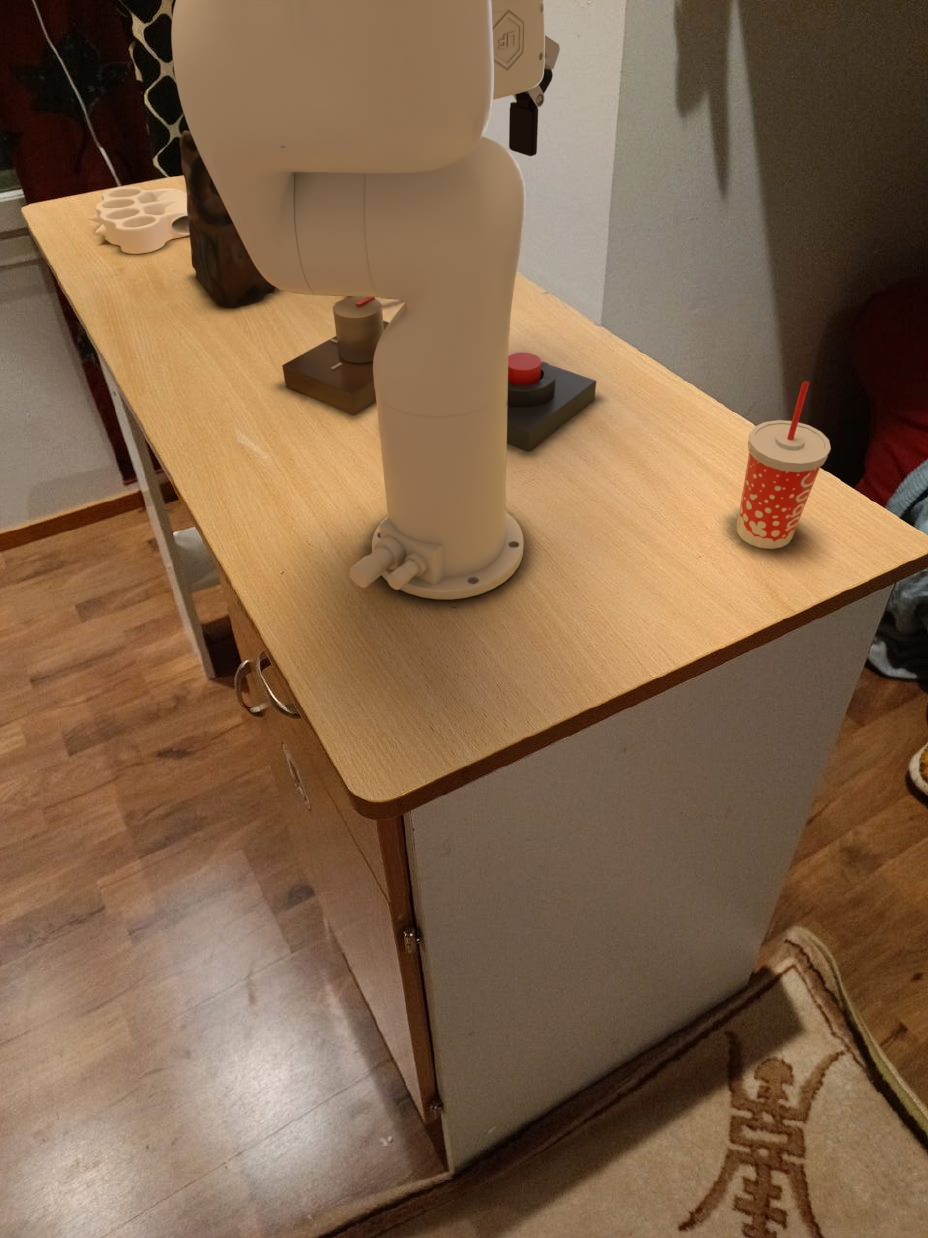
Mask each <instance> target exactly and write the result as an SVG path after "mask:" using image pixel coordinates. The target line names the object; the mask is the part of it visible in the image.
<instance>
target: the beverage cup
mask: <svg viewBox="0 0 928 1238" xmlns="http://www.w3.org/2000/svg"><path fill="white" fill-rule="evenodd" d="M809 385H810V382H809V381H807V380H803V381H802V383H801V387H800V390H799V393H798V397H797V402H796V405H795V408H794V412H793V416H792V419H791V420H783V419H775V420H770V421H764V422H762V423H760V424H758V425H755V426H754V427H753V428H752V430H751V431H750V432H749V434H748V440H747V450H748V452H749V453H748V457H747V464H746V469H745V476H744V481H743V486H742V492H741V499H740V504H739V510H738V517H737V523H736V533H737V534H738V536H739V537H740V539H741V540H743V541H744V542H746V543H747V544H749V545H750V546H754V547H756V548H759V549H769V550H773V549H781V548H783V547H785V546H787V545H789V544H790V542H791V540H792V539H793V537H794V534H795V532H796V530H797V526H798V524H799V522H800V519H801V516H802V514H803V511H804V509H805V507H806V504H807V502H808V499H809V496H810V495H811V491H812V489H813V487H814V483H815V481H816V480H817V479H816V478H817V476H818V473H819V472H820V470H821V467H822V466H823V465H824V464H825V462H826V461H827V459H828V456H829V454H830V452H831V450H832V448H831V443H830V440H829V438H828V437H827V436H826V435H825V434H824V433H823V432H822V431H820V430H819V429H818V428H816V427H813V426H811V425H809V424H806V423H802V422H799V421H800V418H801V414H802V410H803V406H804V403H805V400H806V397H807V392H808V389H809V387H810V386H809Z"/></svg>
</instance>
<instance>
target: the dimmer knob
mask: <svg viewBox="0 0 928 1238" xmlns="http://www.w3.org/2000/svg"><path fill="white" fill-rule="evenodd" d="M332 312H333V319H334V327H335V328H334V329H335V336H337V344H338V352H339V356H340V357H341V358H342V359H343V360H345V361H347V362H351V363H368V362H373V360H374V353H375V350H376V347H377V343H378V341H379V339H380V337H381V335H382V333H383V331H384V325H383V321H384V316H383V315H384V314H383V305H382V303H381V301H379V300H378V299H376V297H346V298H343V299H340V300H339V301H337V302H336V303H335V304H334V305H333V306H332Z"/></svg>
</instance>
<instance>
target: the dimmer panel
mask: <svg viewBox="0 0 928 1238" xmlns="http://www.w3.org/2000/svg"><path fill="white" fill-rule="evenodd" d="M389 322H390V321H386V320H383V325H384V330H385V328H386V327H387V325H388V324H389ZM281 367H282V373H283V379H284V385H285V388H289V389H290V390H293V391H295V392H298V393H301V394H302V395H305V396H308V397H310V398H312V399H314V400H317V401H319V402H321V403H324V404H326V405H329V406H331V407H334V408H335V409H338V410H341V411H343V412H345V413H348V414H350V415H352V416H356V415H357V414H359V413H361V412H362V411H364V410H365V409H367V408H368V407H370V406H372V405H373V404H375V403H376V392H375V387H374V377H373V362H368V363H351V362H347V361H345V360H343V359H342V358H341V357H340V356H339V352H338V344H337V336H336V335H335V336H333V337H331V338H329V339H328V340H326V341H324V342H322V343H320V344H319V345H316V346H315V347H313V348H311V349H310V350H307V351H305V352H304V353H302V354H300V355H298V356H296V357H294V358H293V359H290V360H289V361H287V362H285V363H284V364H282V365H281Z"/></svg>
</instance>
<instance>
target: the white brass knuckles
mask: <svg viewBox="0 0 928 1238" xmlns="http://www.w3.org/2000/svg"><path fill="white" fill-rule="evenodd" d="M88 220H90V221H92V222H94V223H97V224H99V225H100V226H99V227H98V228H97V229H96V230H95V231H94V232H93V234H94V235H100V236H104V239H105V241H107V242H108V243H110V244H111V245H115V246H119V247H120V251H121V252H123V253H125V254H131V255H141V254H149V253H152V252H155V251H158V250H160V249H162V248H163V247H164V246H165V244H166V243H167V242H169V241H171V240H174V239H179V238H185V237H188V236H190V234H189V224H188V214H187V192H186V191H183V190H180V189H179V188H176V187H175V188H173V187H172V188H171V187H163V188H157V189H143V188H142V187H138V186H121V187H115V188H112V189H108V190H106V191H104V192H103V193H102V194H101V201H100V202H98V203H97V205H96V207H95V214H92V216H91V217H89V218H88Z"/></svg>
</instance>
